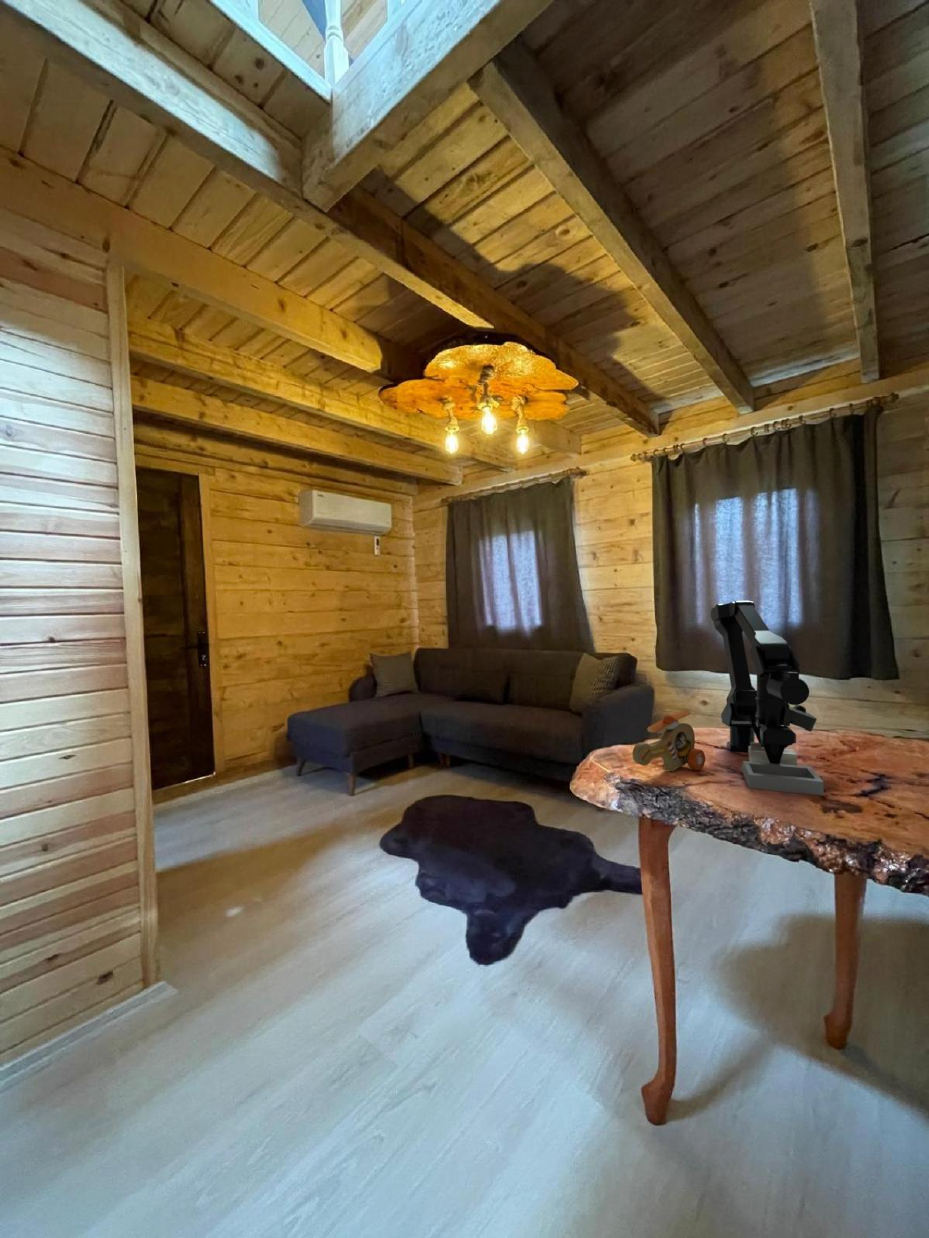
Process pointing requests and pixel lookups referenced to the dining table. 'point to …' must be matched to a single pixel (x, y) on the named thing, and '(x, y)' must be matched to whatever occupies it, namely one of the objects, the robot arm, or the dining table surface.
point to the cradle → (782, 778)
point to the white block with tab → (760, 755)
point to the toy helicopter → (671, 745)
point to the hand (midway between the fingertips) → (771, 762)
